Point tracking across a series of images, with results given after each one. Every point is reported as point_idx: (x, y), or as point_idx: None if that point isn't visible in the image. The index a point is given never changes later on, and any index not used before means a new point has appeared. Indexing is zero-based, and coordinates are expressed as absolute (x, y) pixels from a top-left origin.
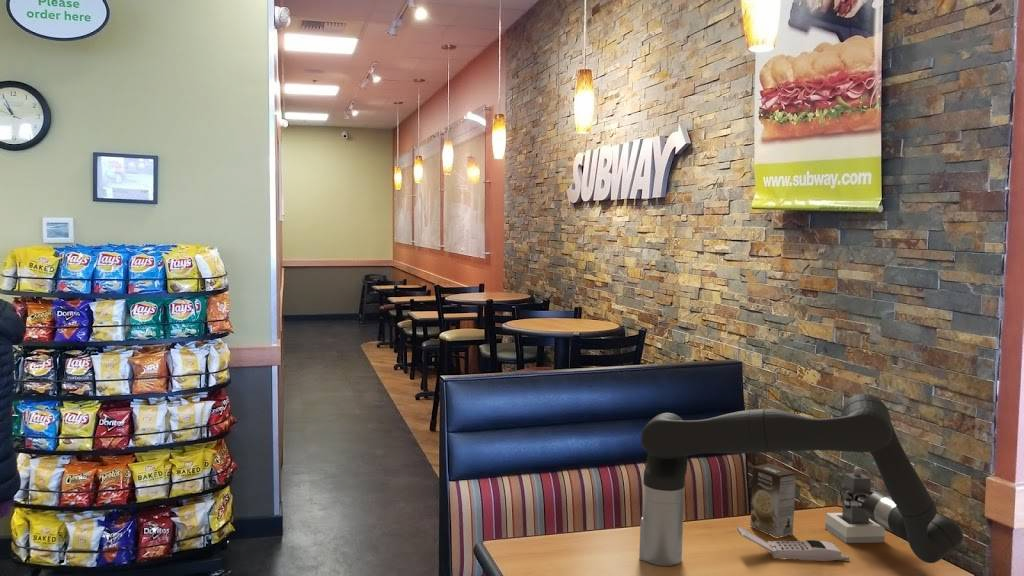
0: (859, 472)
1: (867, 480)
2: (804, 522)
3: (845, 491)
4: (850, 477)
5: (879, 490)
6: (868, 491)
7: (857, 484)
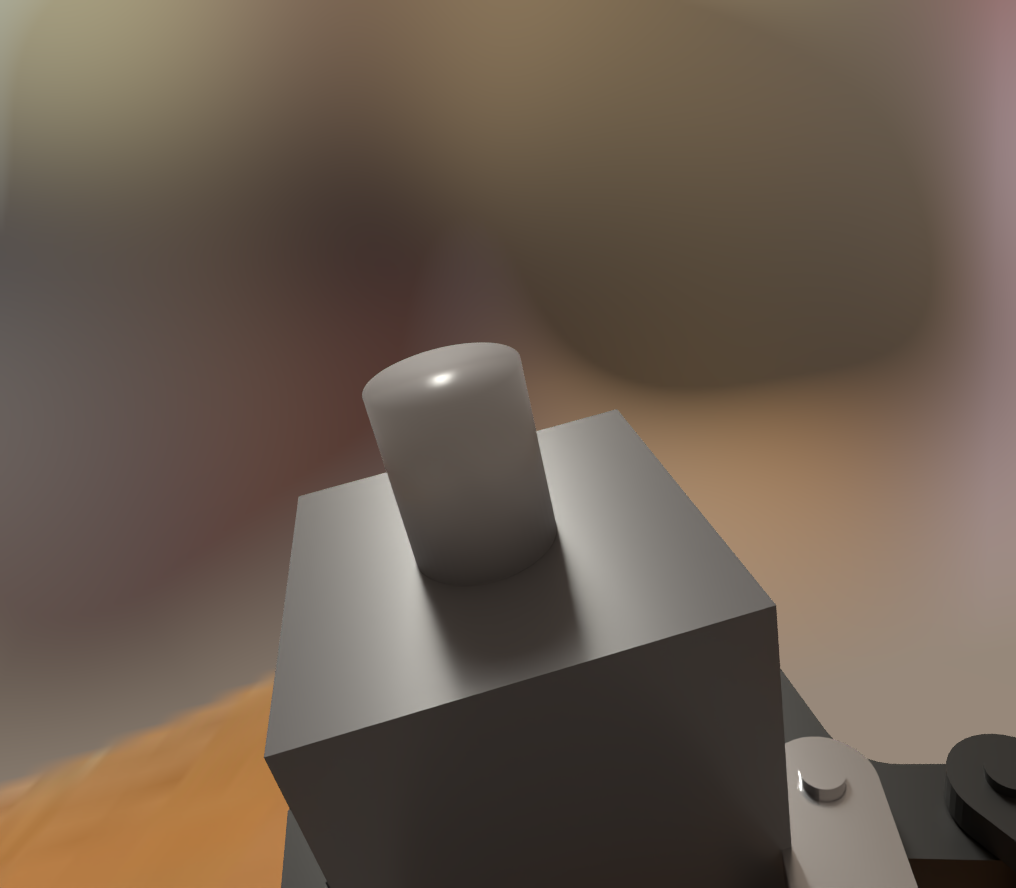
0: (476, 488)
1: (685, 678)
2: (277, 855)
3: (309, 872)
4: (286, 649)
5: (999, 756)
6: (747, 861)
7: (432, 831)
